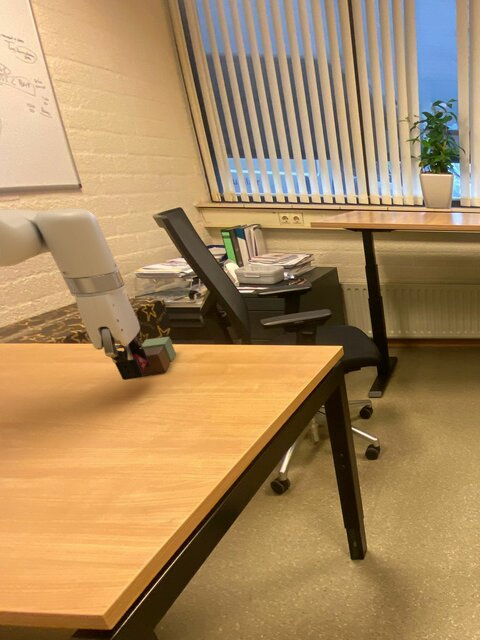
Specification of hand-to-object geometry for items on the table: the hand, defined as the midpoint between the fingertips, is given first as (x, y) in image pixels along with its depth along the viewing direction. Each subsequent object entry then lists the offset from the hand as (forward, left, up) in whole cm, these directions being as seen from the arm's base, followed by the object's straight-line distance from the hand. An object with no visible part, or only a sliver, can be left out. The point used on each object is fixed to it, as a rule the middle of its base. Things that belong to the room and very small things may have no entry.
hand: (137, 371), depth 83 cm
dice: (0, 0, -1) cm, 1 cm away
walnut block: (0, +9, -4) cm, 10 cm away
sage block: (0, +15, -4) cm, 16 cm away
